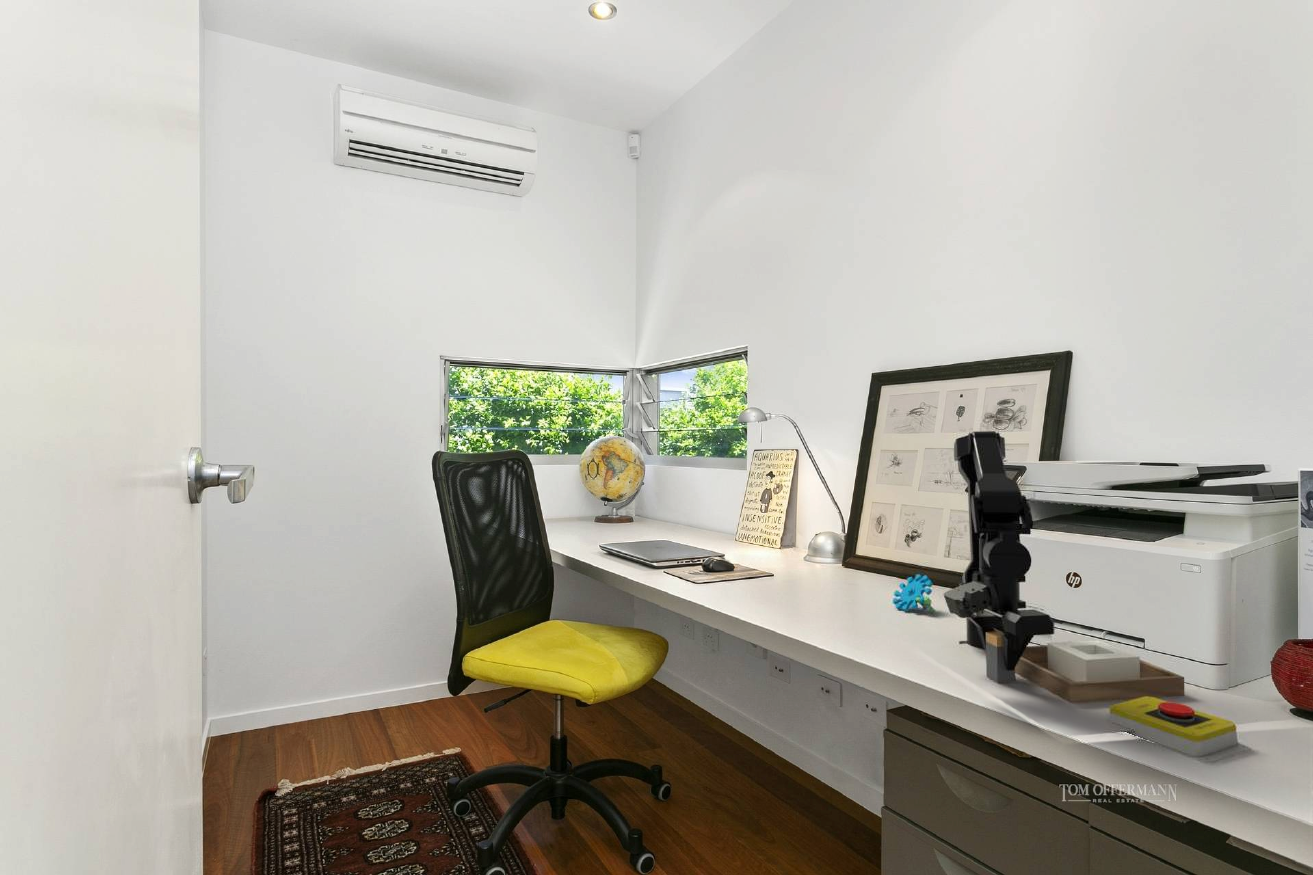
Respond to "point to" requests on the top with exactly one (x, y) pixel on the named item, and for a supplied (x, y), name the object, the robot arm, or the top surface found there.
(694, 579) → the top surface
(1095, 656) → the block
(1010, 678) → the plug
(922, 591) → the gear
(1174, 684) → the walled box
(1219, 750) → the emergency button
